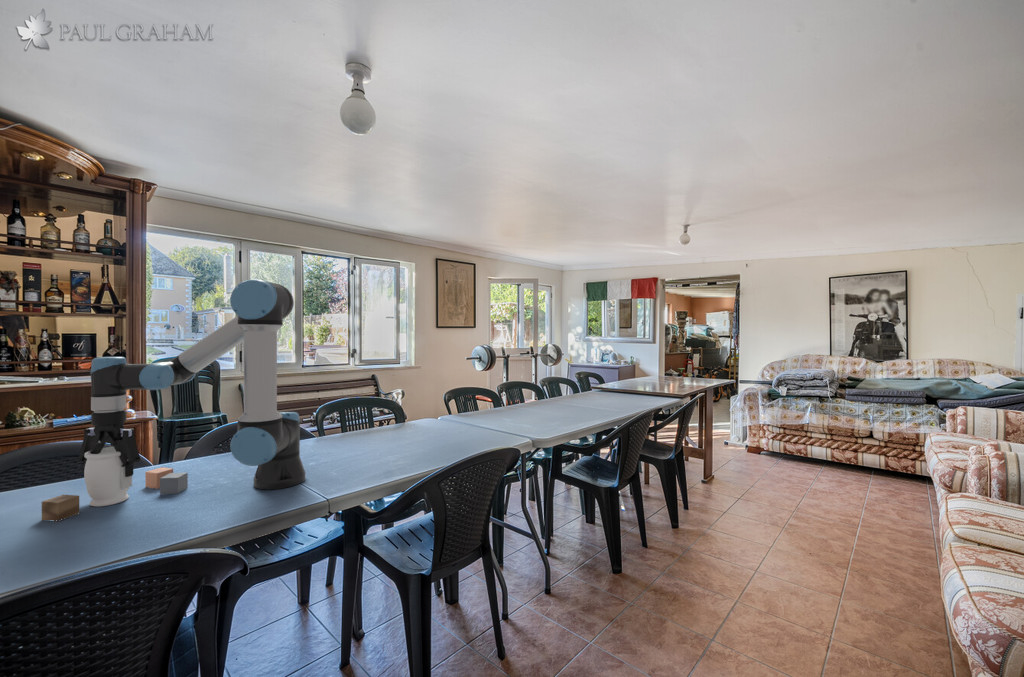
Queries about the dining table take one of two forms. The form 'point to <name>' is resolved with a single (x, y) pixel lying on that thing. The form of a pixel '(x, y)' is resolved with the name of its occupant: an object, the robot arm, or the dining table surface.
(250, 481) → the dining table surface
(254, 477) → the robot arm
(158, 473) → the terracotta block
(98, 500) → the jar
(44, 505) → the walnut block
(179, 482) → the grey block
